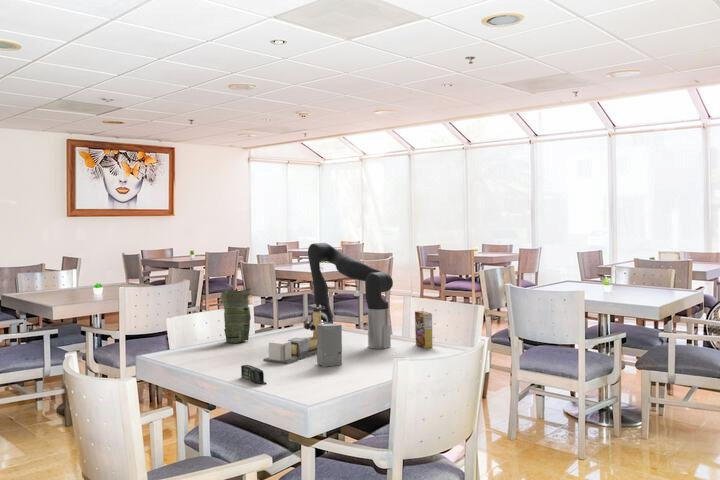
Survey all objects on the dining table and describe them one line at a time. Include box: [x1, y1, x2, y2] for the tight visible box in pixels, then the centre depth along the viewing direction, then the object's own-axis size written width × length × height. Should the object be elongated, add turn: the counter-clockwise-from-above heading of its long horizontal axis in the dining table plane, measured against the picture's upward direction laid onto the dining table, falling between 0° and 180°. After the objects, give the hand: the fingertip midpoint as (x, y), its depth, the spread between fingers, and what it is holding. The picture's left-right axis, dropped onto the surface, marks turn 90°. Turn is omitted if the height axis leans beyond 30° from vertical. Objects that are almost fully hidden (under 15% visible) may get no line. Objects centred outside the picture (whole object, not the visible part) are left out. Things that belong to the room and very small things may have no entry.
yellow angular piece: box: [291, 306, 322, 355], centre depth 258 cm, size 20×4×17 cm, turn 149°
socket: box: [268, 339, 291, 361], centre depth 243 cm, size 6×7×7 cm
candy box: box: [414, 310, 433, 349], centre depth 269 cm, size 9×4×15 cm, turn 23°
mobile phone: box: [240, 364, 267, 385], centre depth 212 cm, size 5×3×15 cm
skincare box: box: [316, 323, 343, 368], centre depth 236 cm, size 8×7×16 cm
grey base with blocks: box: [262, 337, 317, 365], centre depth 254 cm, size 32×12×6 cm, turn 150°
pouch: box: [220, 288, 252, 344], centre depth 284 cm, size 11×12×25 cm
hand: (316, 328), depth 262 cm, fingers closed on yellow angular piece, 3 cm apart
